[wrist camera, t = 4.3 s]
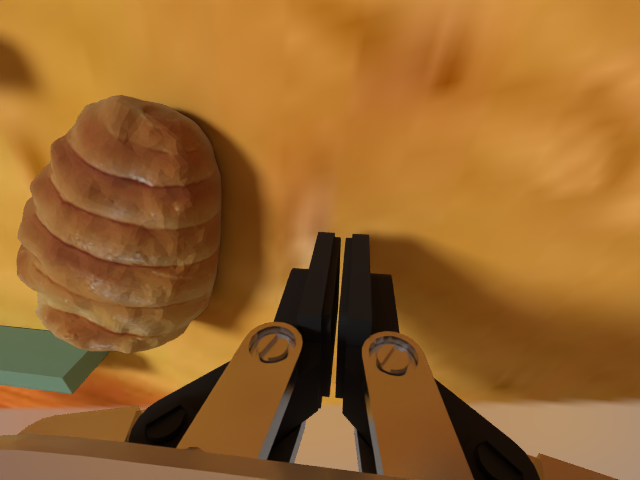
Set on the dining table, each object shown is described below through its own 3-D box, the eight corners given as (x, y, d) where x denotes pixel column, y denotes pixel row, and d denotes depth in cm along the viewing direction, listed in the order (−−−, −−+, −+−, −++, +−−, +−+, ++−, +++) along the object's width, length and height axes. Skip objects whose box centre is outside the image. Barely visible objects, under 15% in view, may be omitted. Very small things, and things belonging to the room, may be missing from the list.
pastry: (77, 51, 10) (-65, 46, 7) (272, 148, 11) (233, 187, 7) (69, 264, 15) (-16, 323, 11) (206, 320, 15) (163, 392, 12)
